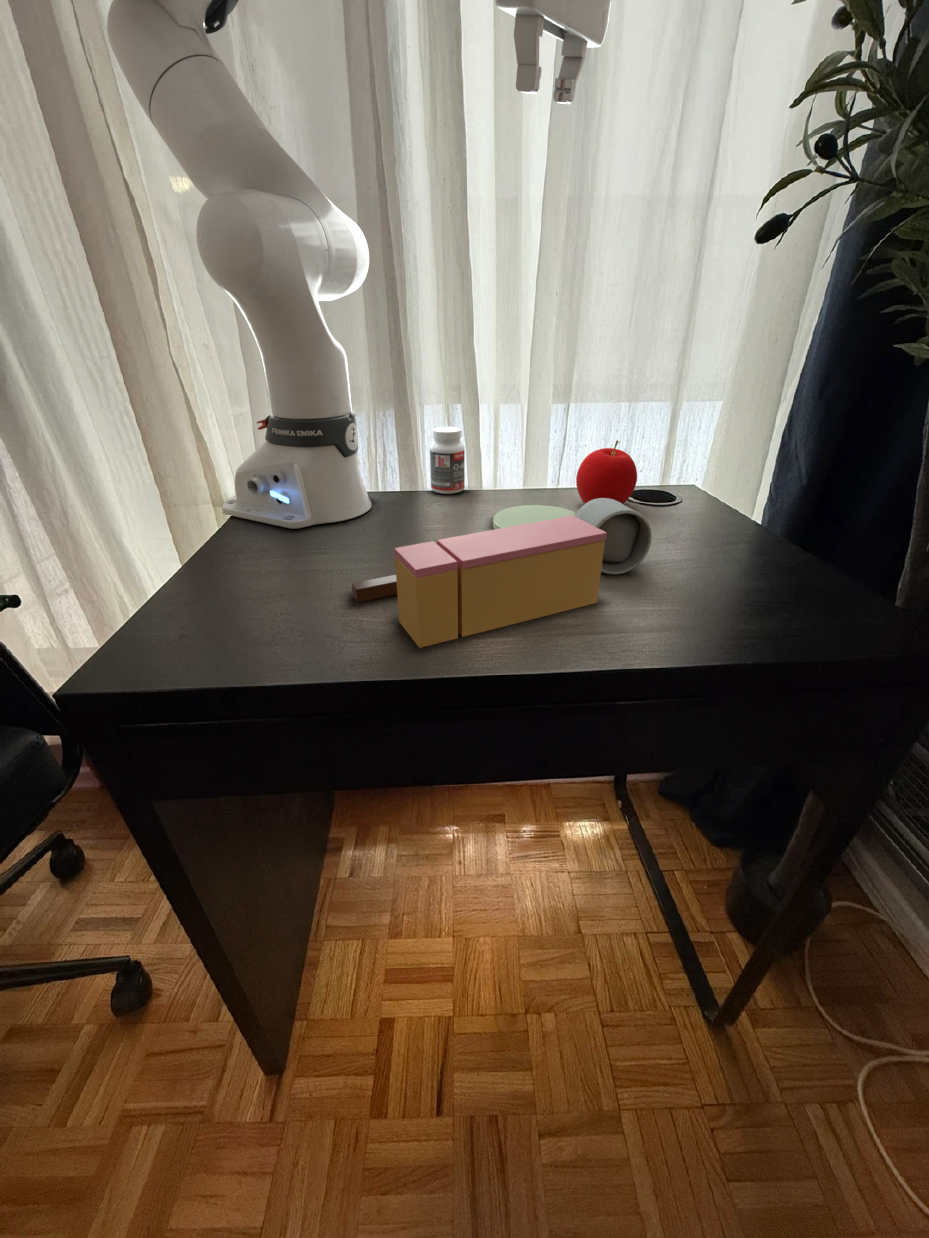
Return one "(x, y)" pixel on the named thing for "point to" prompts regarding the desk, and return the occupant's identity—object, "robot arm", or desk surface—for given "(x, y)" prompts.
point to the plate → (528, 515)
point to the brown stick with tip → (374, 588)
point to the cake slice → (427, 593)
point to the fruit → (606, 475)
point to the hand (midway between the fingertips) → (546, 98)
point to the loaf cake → (525, 572)
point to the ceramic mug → (618, 533)
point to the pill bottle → (447, 461)
